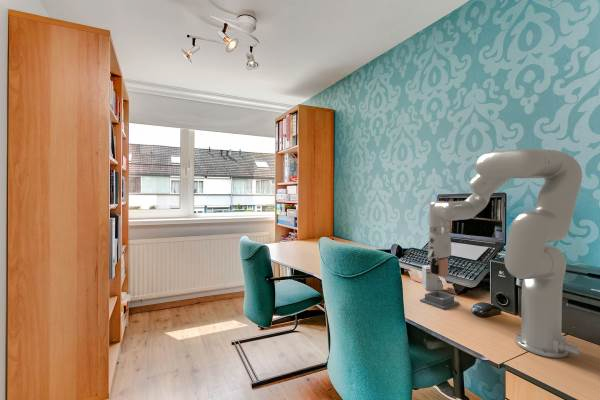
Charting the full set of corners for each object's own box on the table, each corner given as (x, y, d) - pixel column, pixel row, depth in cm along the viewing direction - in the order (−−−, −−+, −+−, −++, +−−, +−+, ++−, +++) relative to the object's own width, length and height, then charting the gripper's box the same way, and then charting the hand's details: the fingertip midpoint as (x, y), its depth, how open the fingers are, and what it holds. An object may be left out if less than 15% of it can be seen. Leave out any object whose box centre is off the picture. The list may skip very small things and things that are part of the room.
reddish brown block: (447, 274, 126) (448, 258, 125) (440, 276, 123) (440, 259, 123) (437, 271, 130) (437, 256, 130) (430, 273, 127) (430, 257, 127)
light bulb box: (443, 286, 148) (443, 264, 147) (449, 290, 141) (449, 268, 140) (421, 286, 149) (421, 264, 148) (425, 290, 142) (425, 268, 142)
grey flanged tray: (459, 303, 125) (459, 296, 125) (443, 309, 119) (443, 301, 119) (435, 296, 134) (435, 289, 134) (419, 301, 128) (419, 293, 128)
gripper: (435, 233, 118) (434, 278, 119) (459, 229, 127) (458, 271, 128) (418, 231, 124) (418, 273, 125) (442, 227, 133) (442, 267, 134)
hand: (438, 272), depth 126 cm, fingers closed on reddish brown block, 5 cm apart
